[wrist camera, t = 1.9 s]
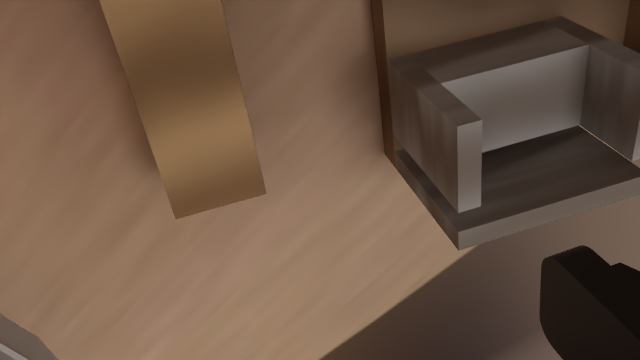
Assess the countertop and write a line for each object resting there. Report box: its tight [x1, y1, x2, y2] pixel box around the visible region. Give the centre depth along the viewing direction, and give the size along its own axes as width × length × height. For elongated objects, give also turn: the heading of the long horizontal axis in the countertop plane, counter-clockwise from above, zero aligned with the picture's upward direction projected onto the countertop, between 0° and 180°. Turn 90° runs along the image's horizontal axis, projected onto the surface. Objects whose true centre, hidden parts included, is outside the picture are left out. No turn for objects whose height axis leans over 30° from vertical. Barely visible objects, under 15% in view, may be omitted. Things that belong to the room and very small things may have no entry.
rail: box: [99, 0, 266, 219], centre depth 24 cm, size 13×4×4 cm, turn 8°
